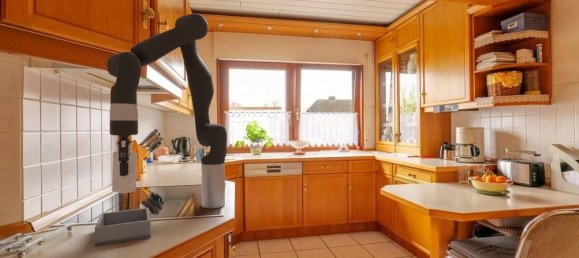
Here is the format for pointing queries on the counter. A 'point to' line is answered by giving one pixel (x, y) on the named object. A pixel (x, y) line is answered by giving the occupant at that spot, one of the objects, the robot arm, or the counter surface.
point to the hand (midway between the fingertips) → (124, 173)
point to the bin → (122, 226)
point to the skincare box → (124, 182)
